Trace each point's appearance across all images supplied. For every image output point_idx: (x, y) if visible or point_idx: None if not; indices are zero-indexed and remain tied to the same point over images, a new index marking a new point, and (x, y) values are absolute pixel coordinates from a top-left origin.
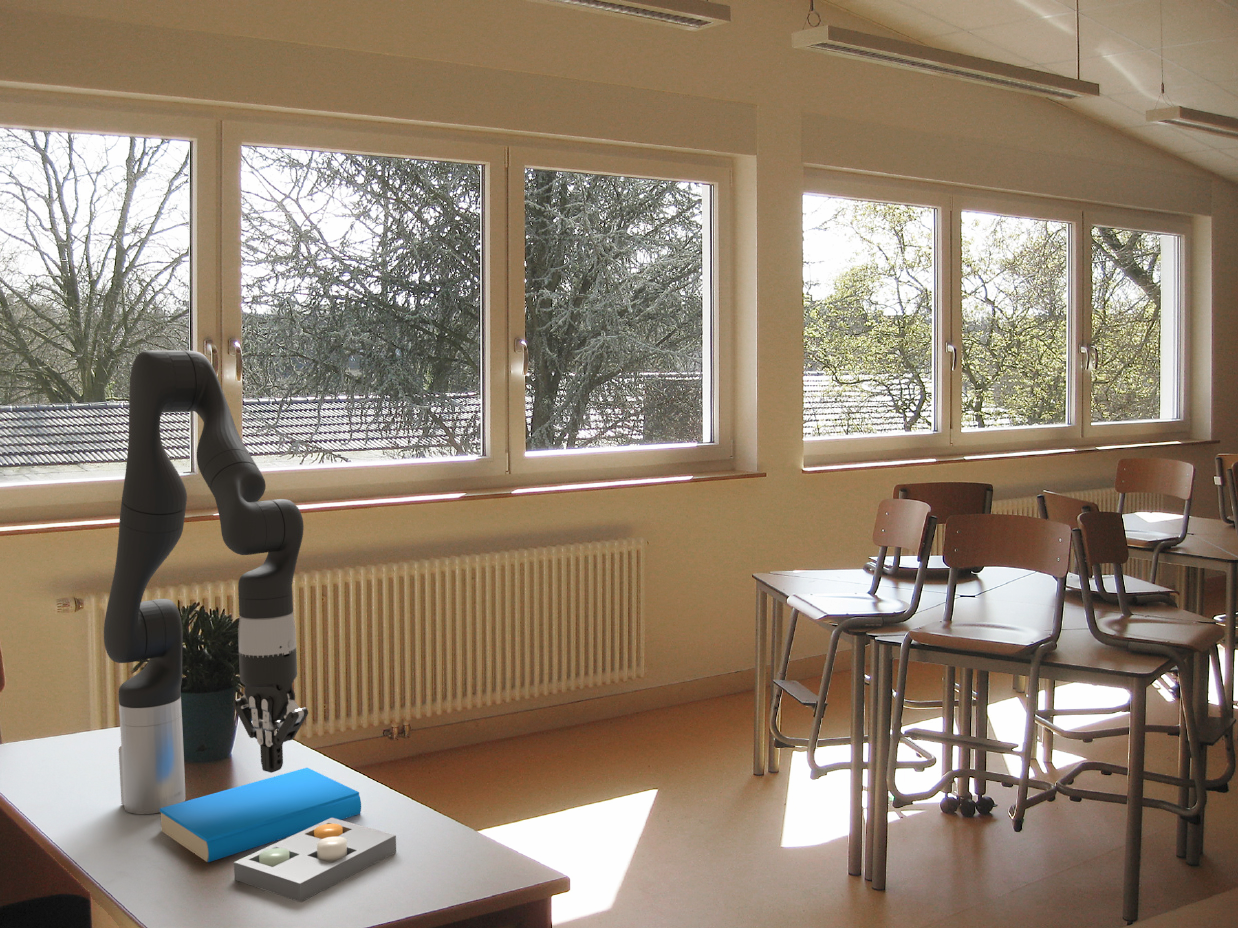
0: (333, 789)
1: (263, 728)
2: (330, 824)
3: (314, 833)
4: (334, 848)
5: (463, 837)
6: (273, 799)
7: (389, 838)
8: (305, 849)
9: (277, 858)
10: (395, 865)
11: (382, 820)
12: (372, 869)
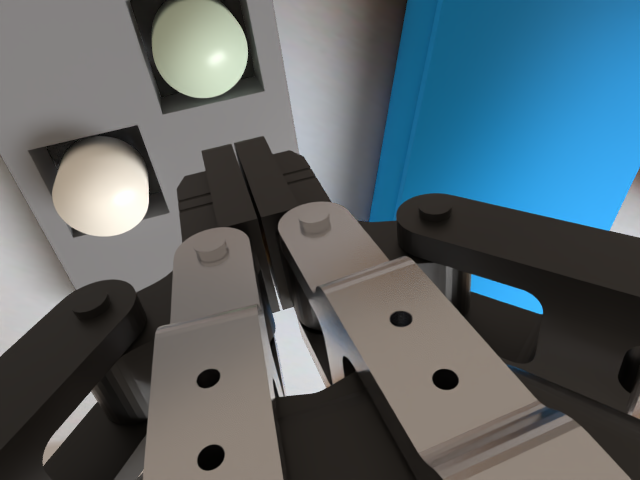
0: None
1: (251, 306)
2: None
3: None
4: (54, 186)
5: (80, 420)
6: None
7: None
8: (182, 141)
9: (160, 41)
10: (27, 279)
11: (285, 343)
12: (41, 233)
